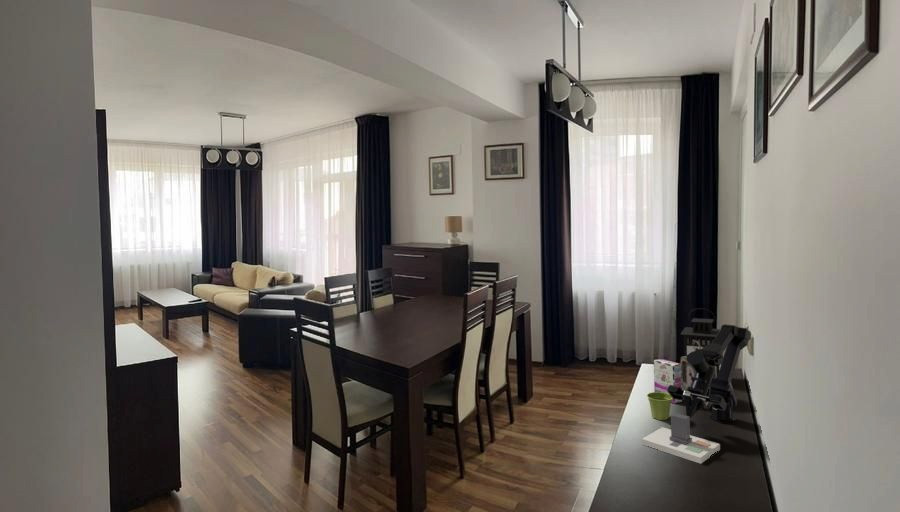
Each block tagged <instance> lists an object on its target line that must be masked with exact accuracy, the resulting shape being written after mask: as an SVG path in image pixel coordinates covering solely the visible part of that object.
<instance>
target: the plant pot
mask: <svg viewBox="0 0 900 512" xmlns="http://www.w3.org/2000/svg"><path fill="white" fill-rule="evenodd" d="M646 397H647V398H648V402H649V408H650V412H651V418H653V419H656V420H658V421H666V420H668V419H669V418H670V410H671V401H672V399H673V398H672V397H671V396H670V394H667V393H663V392H655V391H653V392H649V393H647V394H646Z"/></svg>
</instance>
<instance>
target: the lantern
mask: <svg viewBox="0 0 900 512" xmlns="http://www.w3.org/2000/svg"><path fill="white" fill-rule="evenodd" d="M695 310H705V311H707V312H710V313H711V314H712V315H713V317H714V318H712V319H711V318H696V317H694V318H692V320H691V319H690V317H688V320H689V321H690V322H691V323H692V327H688V326H686V327H684V329H683V330H682V331H681V333H680V335H683V351H684V355H683V356H687V355H688V354H689V353H691V352H693V351H695V350H694V348H693V345H692V344H693V341H697V342H699V344H700V346H701V349H702V348H703V347H704V346H706V345H709V344H711V343H712V341H713V340H714V338H715V337H716V336H717V334H718V333H719V331H720V330H721V328H713V323H715V322H716V315H715V314H714V312H712V311H711V310H710V309H707V308H702V307H700V308H694V309H692V310H691V311H690V312H689V313H688V316H691V313H692V312H694V311H695ZM694 347H695V348H696V347H697V348H698V349H700V347H699V345H698V343H696V342H694ZM720 367H721V365H720V366H719V367H717V366H715V368H716V377H717V376H718V373H719V370H720Z"/></svg>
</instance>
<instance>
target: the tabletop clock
mask: <svg viewBox="0 0 900 512" xmlns="http://www.w3.org/2000/svg"><path fill="white" fill-rule="evenodd" d="M694 342H696V343H698V345H699V347H700V349H701V346H700V344H699V342H697V341H693V344H692V345H693V348H694V350H695V349H698V348H697V347H696V348H695V347H694ZM686 358H687V356H684V355H683V356H680V360H679V361H680V362H679V364H682V365H681V366H682V388H684V389H685V391H688V389H687V388H688V387H690V386H691V383H692V380H691V378H692V377H694V375H695V371H693V369H692V368H691V366H690V365H689V363H688V362H687V359H686ZM709 366H711V365H709ZM711 367H712V368H713V369H714V371H715V375H716V368H715V366H711ZM713 378H716V376H713Z"/></svg>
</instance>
